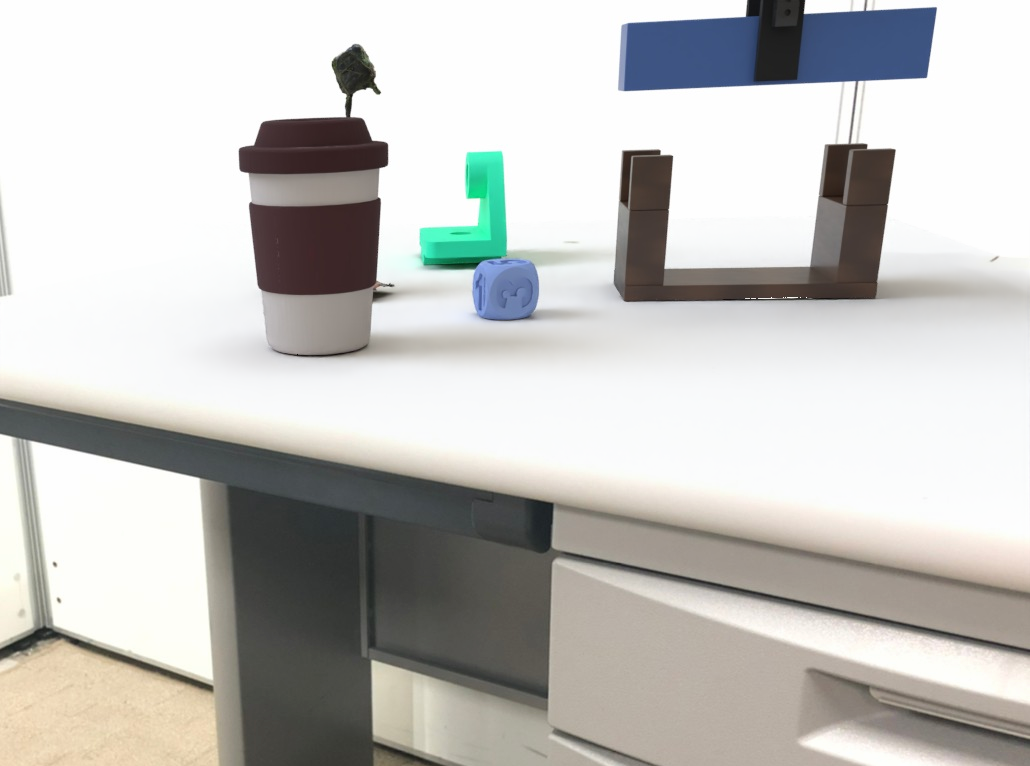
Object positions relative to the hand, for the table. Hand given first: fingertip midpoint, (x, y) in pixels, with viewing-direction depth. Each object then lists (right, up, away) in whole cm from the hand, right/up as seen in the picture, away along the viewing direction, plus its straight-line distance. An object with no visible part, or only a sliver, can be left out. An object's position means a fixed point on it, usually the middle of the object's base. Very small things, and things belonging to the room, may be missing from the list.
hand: (767, 79), depth 84 cm
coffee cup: (-32, -19, 0) cm, 37 cm away
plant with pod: (-30, -11, +20) cm, 38 cm away
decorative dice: (-17, -15, +8) cm, 24 cm away
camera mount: (-16, -4, +36) cm, 40 cm away
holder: (+3, -12, +14) cm, 19 cm away
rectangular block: (0, 0, 0) cm, 0 cm away
